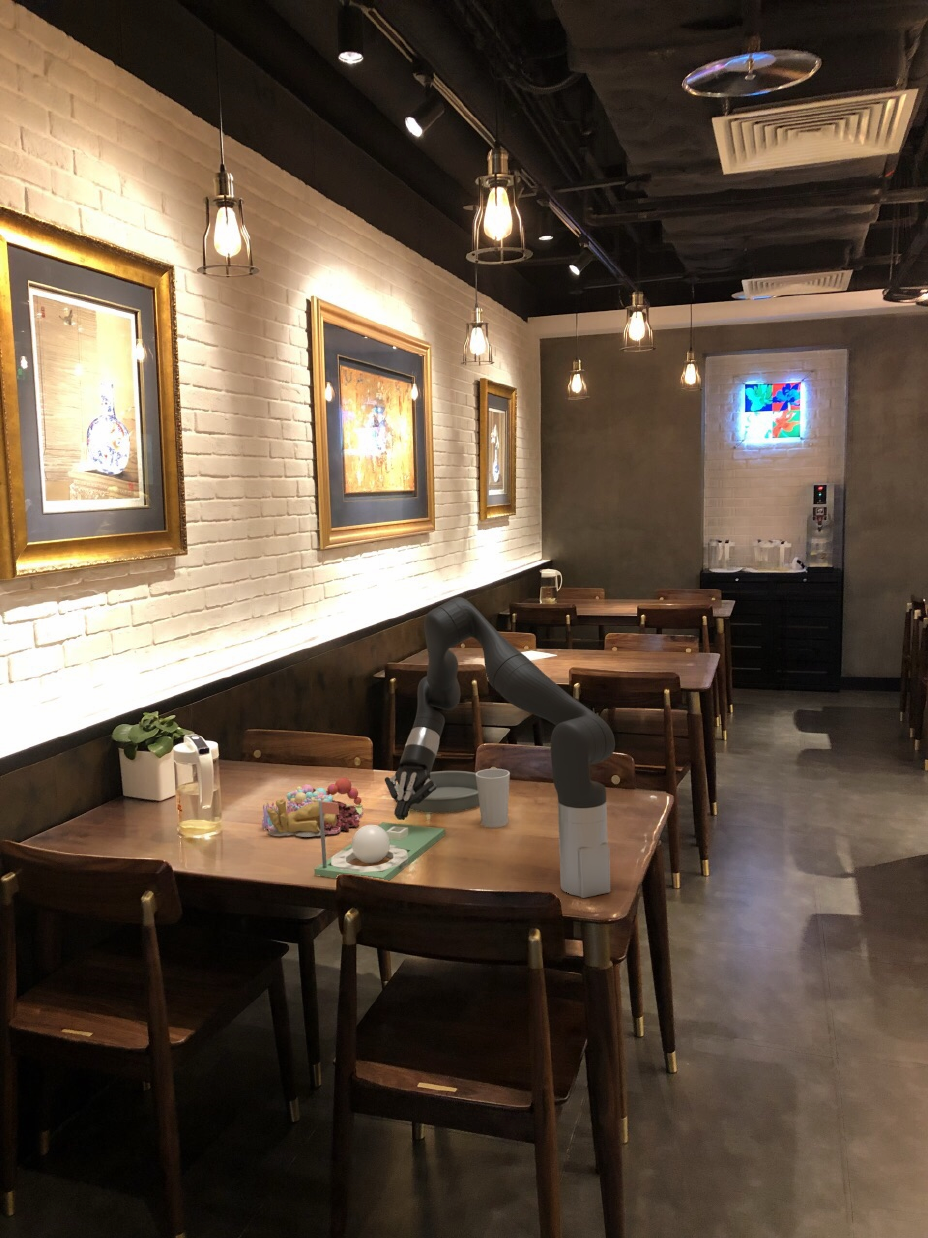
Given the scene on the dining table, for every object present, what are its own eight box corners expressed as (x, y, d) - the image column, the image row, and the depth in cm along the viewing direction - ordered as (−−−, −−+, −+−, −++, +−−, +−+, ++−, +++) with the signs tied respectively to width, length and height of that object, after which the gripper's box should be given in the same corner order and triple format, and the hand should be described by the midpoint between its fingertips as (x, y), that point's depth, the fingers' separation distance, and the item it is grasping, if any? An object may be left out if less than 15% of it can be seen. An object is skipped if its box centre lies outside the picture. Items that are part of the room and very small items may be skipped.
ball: (394, 827, 198) (394, 865, 198) (383, 819, 206) (382, 856, 206) (357, 831, 195) (357, 869, 195) (347, 822, 203) (347, 860, 203)
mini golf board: (383, 828, 222) (379, 764, 220) (445, 835, 216) (442, 768, 214) (314, 876, 195) (310, 802, 193) (383, 885, 188) (379, 809, 187)
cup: (508, 829, 218) (506, 778, 216) (474, 828, 220) (472, 778, 218) (513, 818, 226) (512, 768, 224) (481, 817, 227) (479, 768, 226)
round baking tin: (449, 781, 260) (448, 765, 259) (512, 799, 241) (511, 782, 241) (376, 802, 244) (375, 785, 243) (438, 823, 225) (437, 804, 225)
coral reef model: (359, 838, 217) (357, 799, 216) (256, 844, 216) (253, 805, 215) (364, 804, 242) (362, 769, 241) (272, 809, 241) (269, 774, 240)
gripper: (451, 761, 222) (431, 828, 212) (400, 757, 227) (379, 823, 218) (441, 744, 217) (420, 813, 207) (389, 741, 222) (367, 808, 212)
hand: (399, 818), depth 212 cm, fingers closed
